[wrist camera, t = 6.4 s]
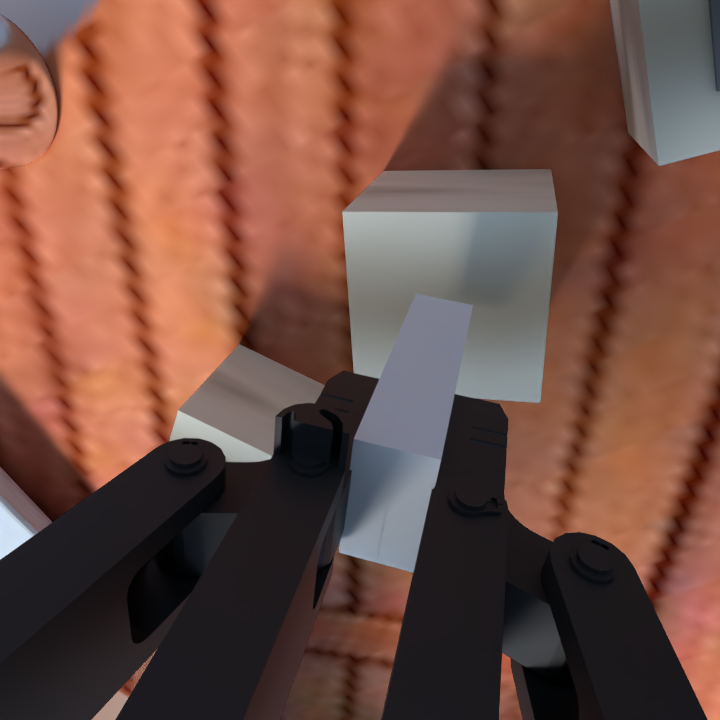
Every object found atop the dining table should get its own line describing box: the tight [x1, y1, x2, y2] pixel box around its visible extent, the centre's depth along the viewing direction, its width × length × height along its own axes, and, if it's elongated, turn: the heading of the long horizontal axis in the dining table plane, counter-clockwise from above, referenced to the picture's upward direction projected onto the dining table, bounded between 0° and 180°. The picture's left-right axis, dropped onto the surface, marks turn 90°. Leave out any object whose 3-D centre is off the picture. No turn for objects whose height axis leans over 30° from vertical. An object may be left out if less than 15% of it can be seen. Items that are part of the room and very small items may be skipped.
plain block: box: [342, 169, 558, 403], centre depth 21 cm, size 6×6×6 cm
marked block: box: [170, 344, 325, 462], centre depth 27 cm, size 6×6×6 cm
